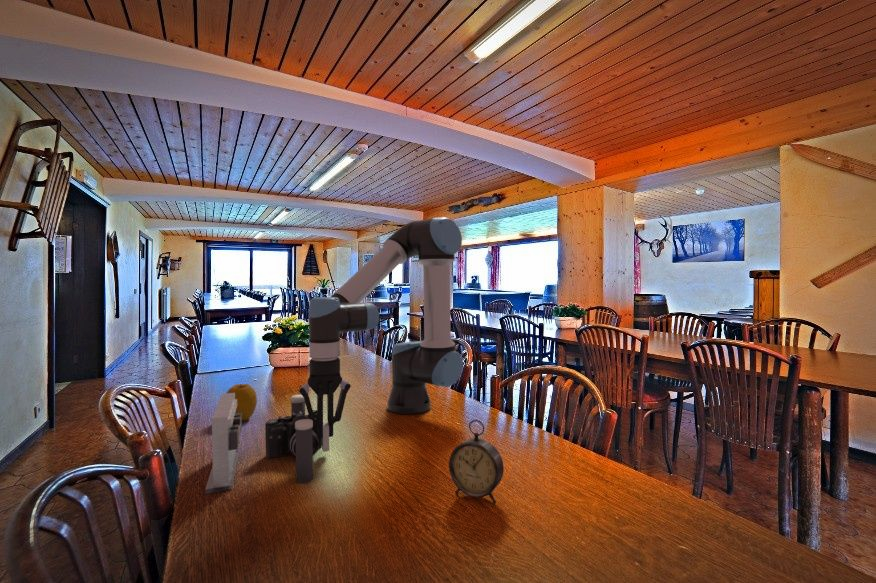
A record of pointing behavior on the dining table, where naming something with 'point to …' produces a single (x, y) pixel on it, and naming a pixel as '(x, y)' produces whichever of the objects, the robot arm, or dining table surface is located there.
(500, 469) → the alarm clock
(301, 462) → the post
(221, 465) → the breaker panel
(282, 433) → the camera
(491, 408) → the dining table surface
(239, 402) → the yellow-brown oval body
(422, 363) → the robot arm
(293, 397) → the post
